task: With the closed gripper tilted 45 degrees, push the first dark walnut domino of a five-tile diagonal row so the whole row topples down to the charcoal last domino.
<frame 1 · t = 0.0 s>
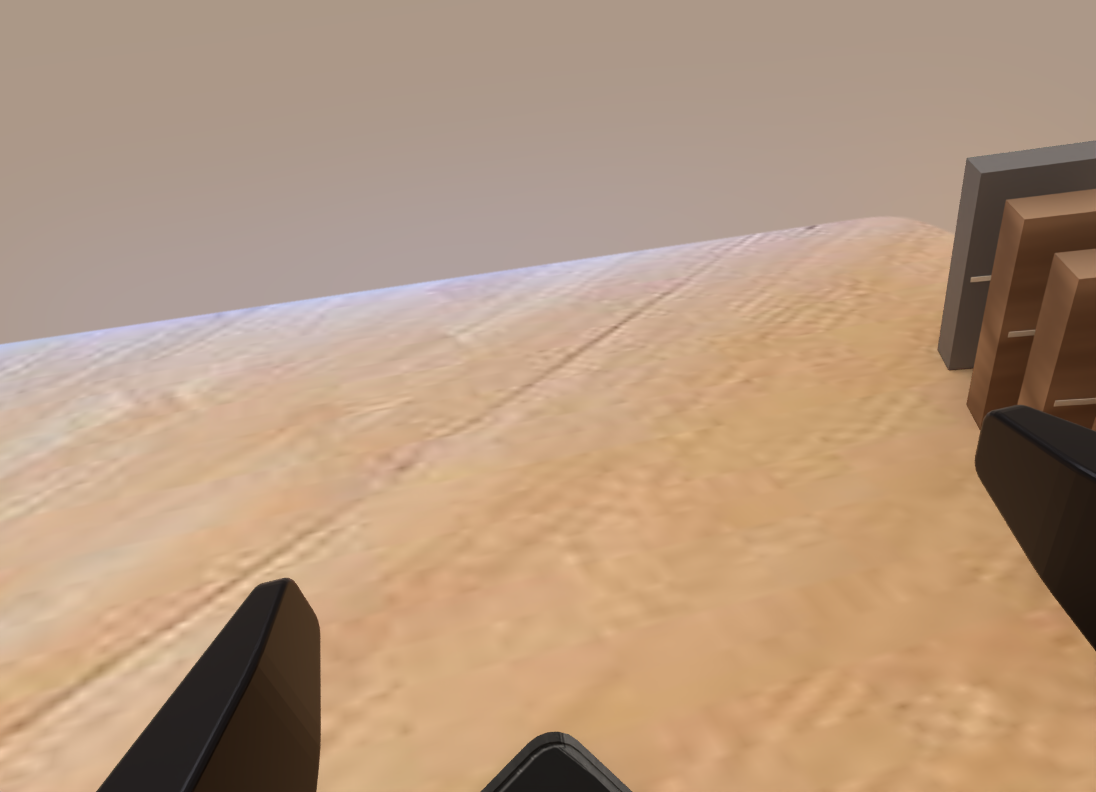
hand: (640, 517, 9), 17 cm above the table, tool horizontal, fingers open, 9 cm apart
domino 4: (1034, 413, 32), on the table
domino 3: (1079, 483, 28), on the table
domino 5: (998, 355, 35), on the table
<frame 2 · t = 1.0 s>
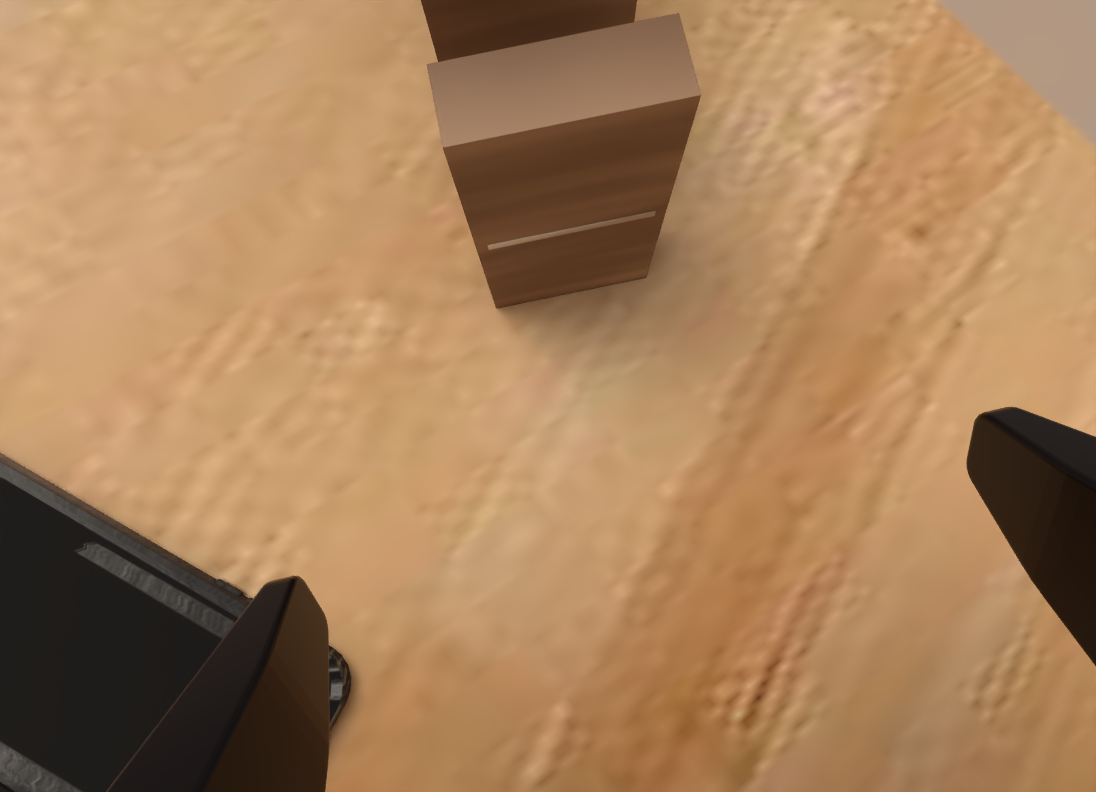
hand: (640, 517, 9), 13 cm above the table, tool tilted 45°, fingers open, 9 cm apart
domino 1: (565, 267, 24), on the table
domino 2: (539, 145, 24), on the table
phone: (102, 656, 22), on the table
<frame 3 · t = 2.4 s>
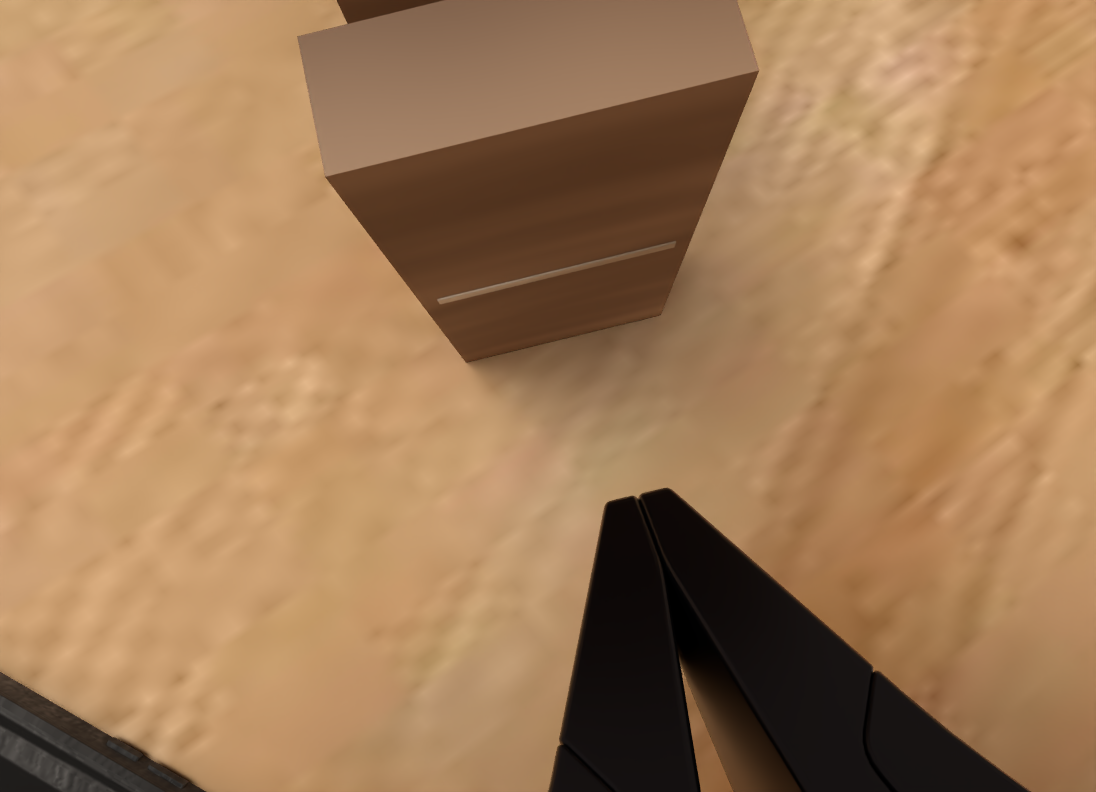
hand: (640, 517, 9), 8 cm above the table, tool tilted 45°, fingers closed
domino 1: (554, 305, 18), on the table
domino 2: (516, 145, 19), on the table
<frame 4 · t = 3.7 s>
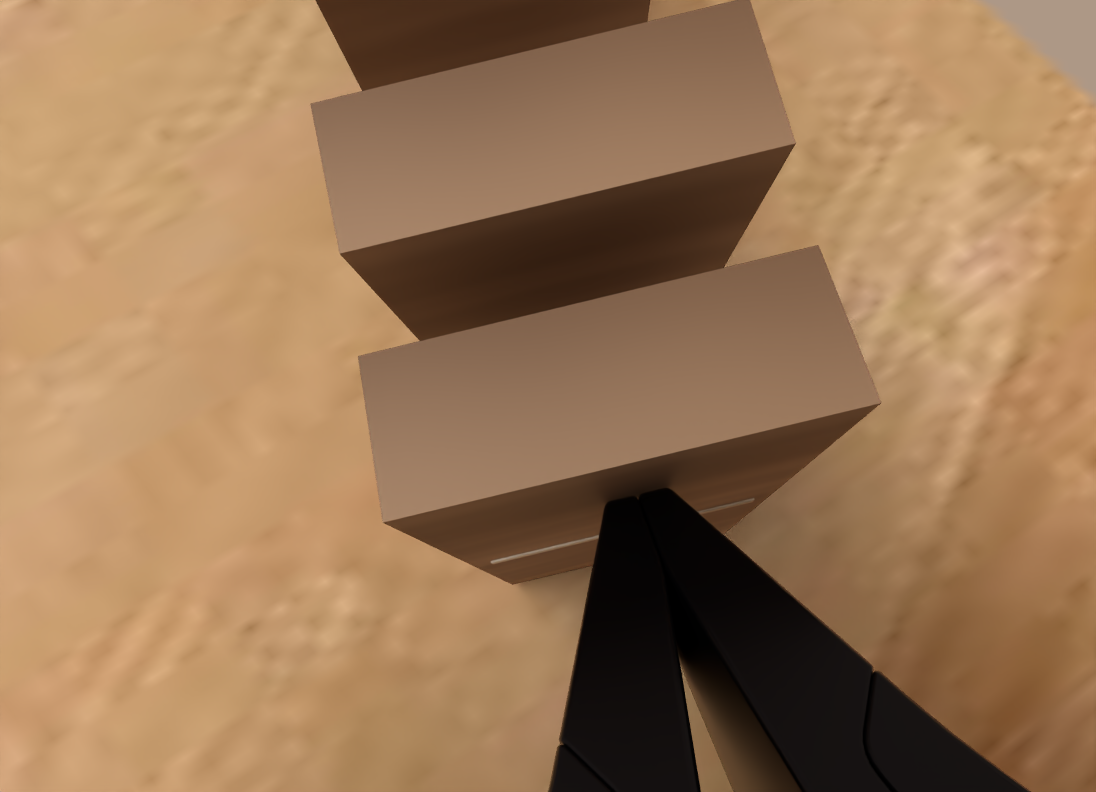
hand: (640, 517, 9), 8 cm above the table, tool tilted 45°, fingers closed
domino 1: (608, 520, 17), on the table, tilted 9°, touching gripper
domino 2: (565, 342, 18), on the table
domino 3: (521, 176, 18), on the table
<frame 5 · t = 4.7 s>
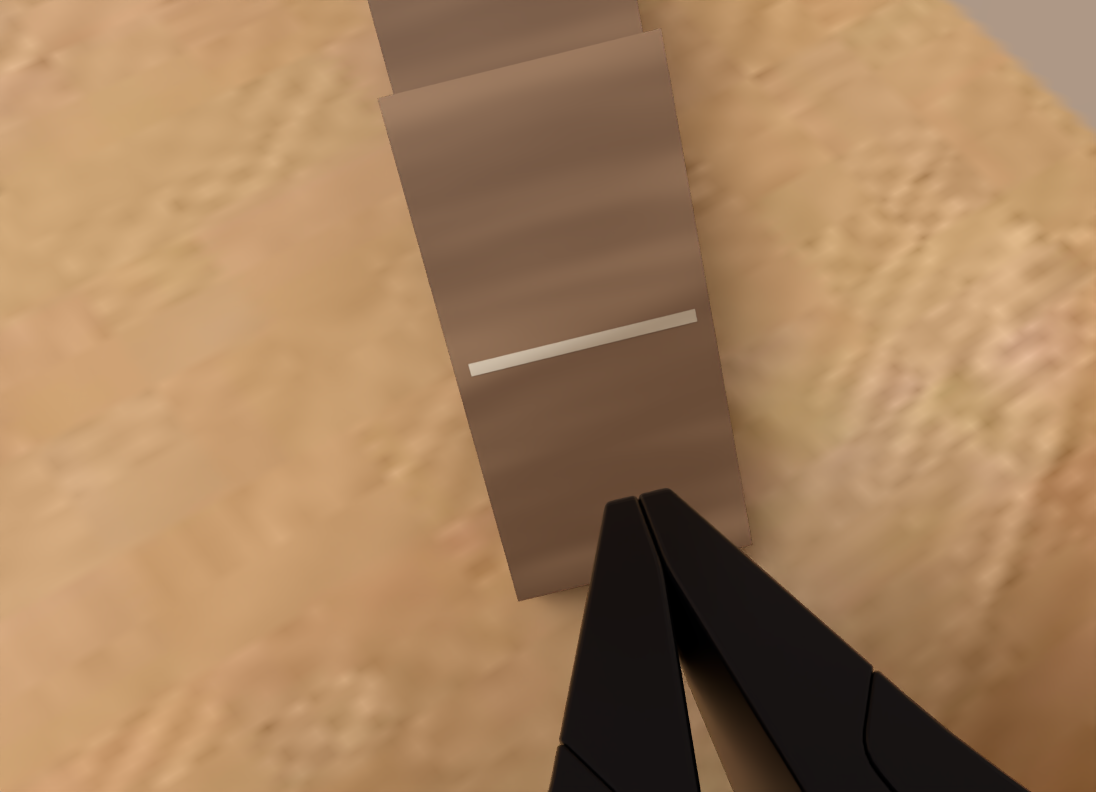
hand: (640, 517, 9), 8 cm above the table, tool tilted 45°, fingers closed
domino 1: (628, 552, 16), point 1 cm above the table, tilted 66°, touching domino 2
domino 2: (582, 351, 16), point 1 cm above the table, tilted 65°, touching domino 1, domino 3
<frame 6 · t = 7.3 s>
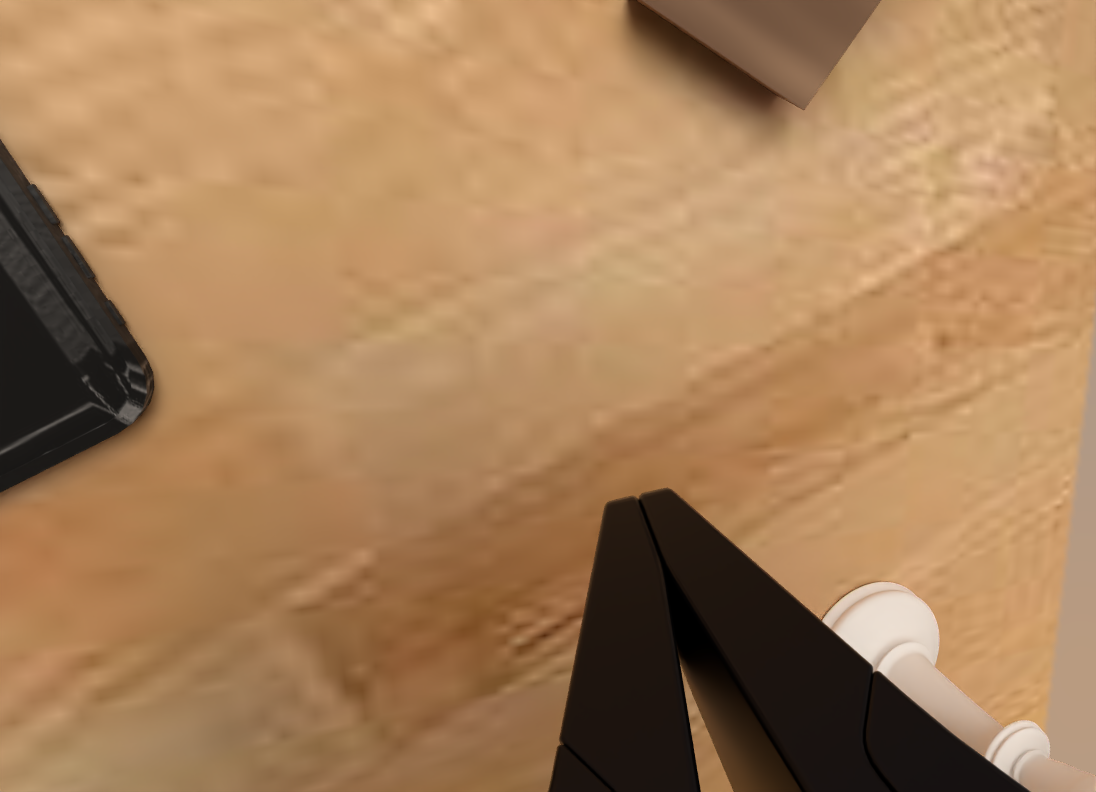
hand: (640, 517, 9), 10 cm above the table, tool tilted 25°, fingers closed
domino 1: (715, 52, 18), point 1 cm above the table, tilted 66°, touching domino 2
chess piece: (863, 644, 25), on the table
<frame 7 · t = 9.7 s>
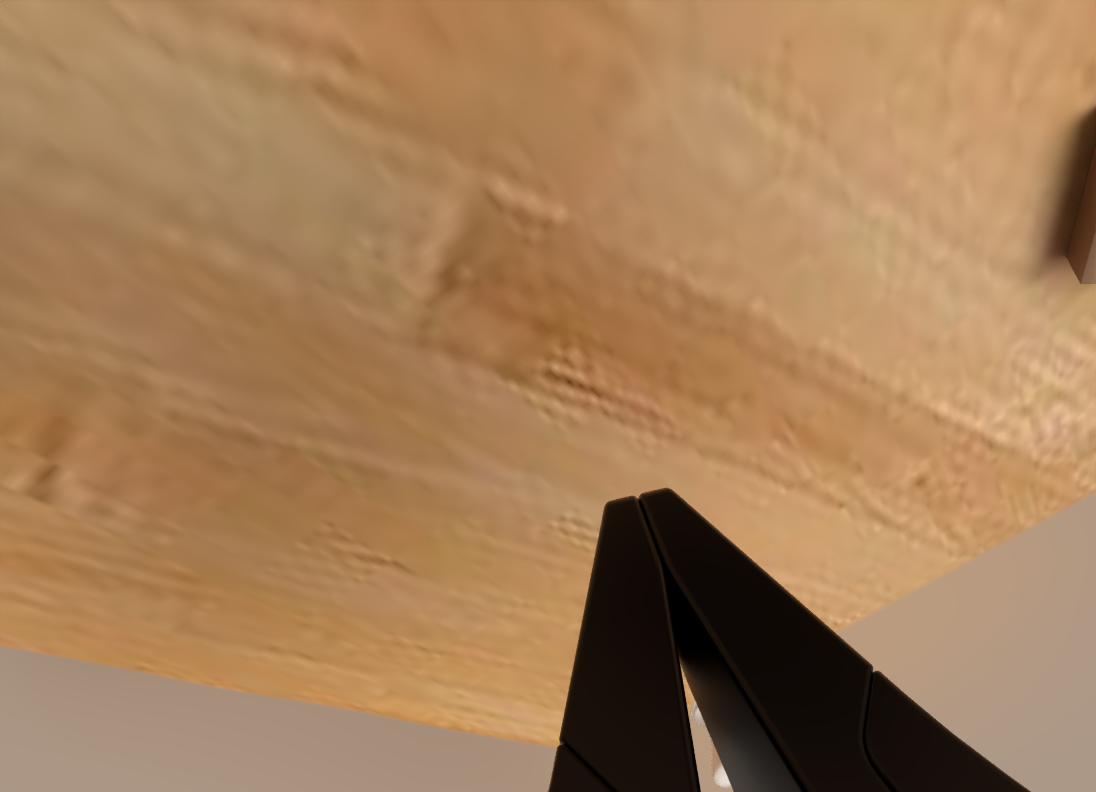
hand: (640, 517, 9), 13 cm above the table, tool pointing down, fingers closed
domino 1: (1093, 194, 21), point 1 cm above the table, tilted 66°, touching domino 2
chess piece: (675, 581, 31), on the table
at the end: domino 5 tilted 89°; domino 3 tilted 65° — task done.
